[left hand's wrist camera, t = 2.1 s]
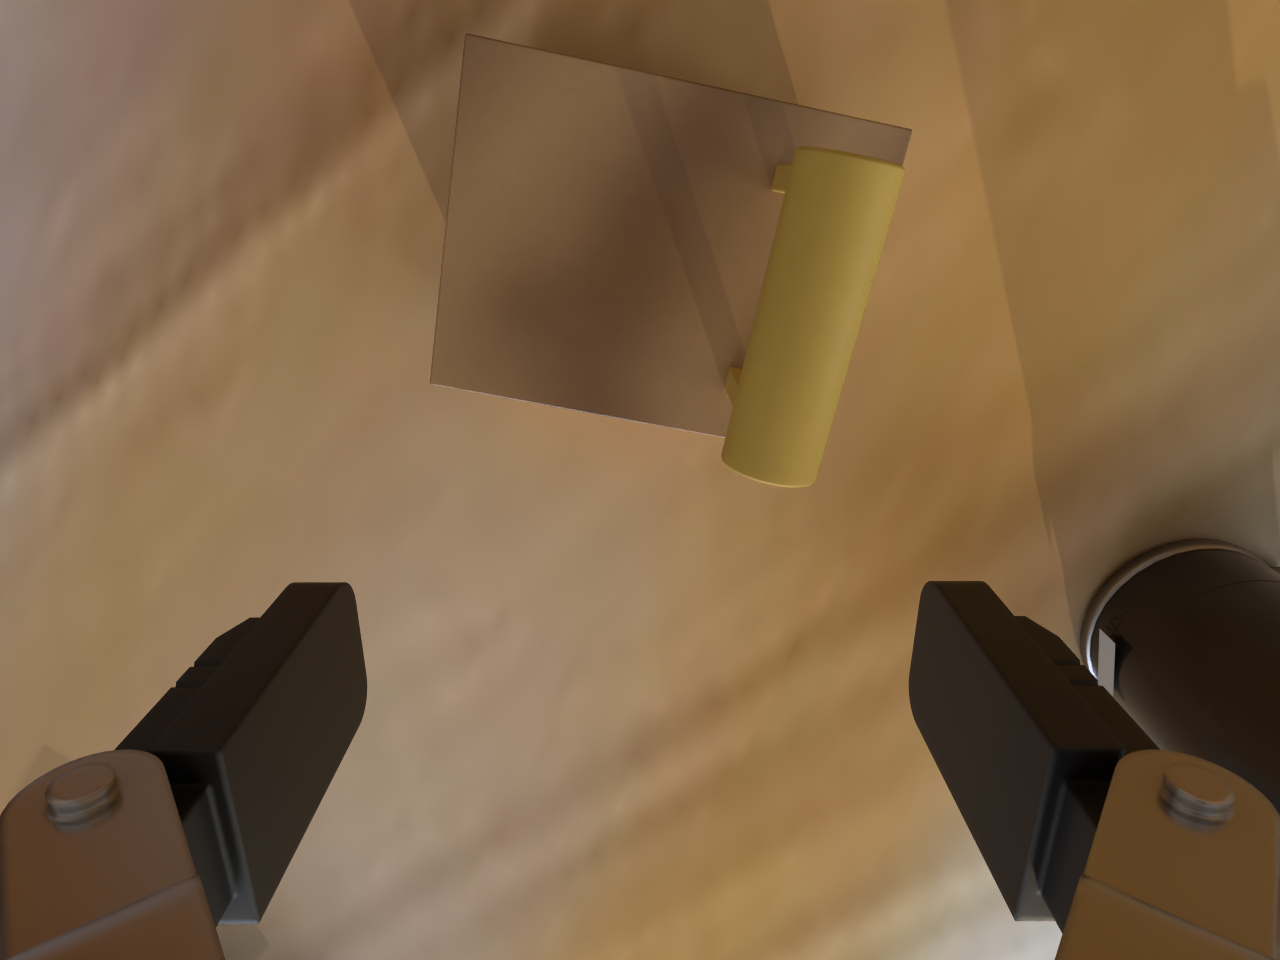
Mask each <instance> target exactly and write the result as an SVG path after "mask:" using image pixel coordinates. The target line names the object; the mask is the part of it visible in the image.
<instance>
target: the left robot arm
mask: <svg viewBox="0 0 1280 960" xmlns="http://www.w3.org/2000/svg"><path fill="white" fill-rule="evenodd" d="M1080 652H1081V658H1082V662H1083V664H1084V665H1080V660H1079V659H1078V658H1077V656H1076V655H1075V654H1074V653H1073V652H1072V651H1071V650H1070V649H1069V648H1068V647H1067V645H1066V644H1065V643H1064V642H1063V641H1062V640H1061V639H1060V638H1059V637H1058V636H1057V635H1055V634H1053V633H1052V632H1050V631H1048V630H1047V629H1045V628H1044V627H1042V626H1040V625H1039V624H1037V623H1035V622H1034V621H1032V620H1030V619H1029V618H1027V617H1025V616H1014V615H1013V614H1012V613H1011V611H1010V610H1009V609H1008V608H1007V607H1006V606H1005V604H1004V603H1003V602H1002V601H1001V600H1000V598H999V597H998V596H997V595H996V594H995V593H994V591H993V590H992V589H991V588H990V587H989V586H988V585H987V584H986V583H985V582H983V581H929V582H927V583H926V584H925V585H924V587H923V589H922V593H921V597H920V603H919V610H918V617H917V624H916V631H915V638H914V645H913V652H912V659H911V667H910V674H909V698H910V704H911V710H912V713H913V717H914V720H915V722H916V724H917V726H918V728H919V730H920V732H921V734H922V736H923V738H924V740H925V742H926V744H927V746H928V748H929V750H930V752H931V754H932V756H933V758H934V760H935V762H936V764H937V766H938V768H939V770H940V772H941V774H942V776H943V778H944V780H945V782H946V784H947V786H948V788H949V790H950V792H951V794H952V796H953V798H954V800H955V802H956V804H957V806H958V808H959V810H960V812H961V814H962V816H963V818H964V820H965V822H966V824H967V826H968V828H969V830H970V832H971V834H972V836H973V838H974V840H975V842H976V844H977V846H978V848H979V850H980V852H981V854H982V856H983V858H984V860H985V862H986V864H987V866H988V868H989V870H990V872H991V874H992V876H993V878H994V880H995V882H996V884H997V886H998V888H999V890H1000V892H1001V894H1002V896H1003V898H1004V900H1005V902H1006V903H1007V905H1008V907H1009V909H1010V911H1011V913H1012V915H1013V917H1014V919H1015V921H1056V923H1057V925H1058V926H1059V928H1060V930H1061V932H1062V934H1063V935H1062V938H1061V941H1060V944H1059V948H1058V951H1057V954H1056V958H1055V960H1280V567H1270V566H1269V565H1268V564H1266V563H1265V562H1264V561H1263V560H1261V559H1260V558H1258V557H1256V556H1255V555H1253V554H1251V553H1250V552H1248V551H1246V550H1245V549H1243V548H1241V547H1238V546H1236V545H1233V544H1230V543H1227V542H1222V541H1217V540H1199V539H1198V540H1187V541H1181V542H1176V543H1172V544H1168V545H1165V546H1162V547H1159V548H1156V549H1154V550H1152V551H1149V552H1147V553H1145V554H1143V555H1141V556H1139V557H1138V558H1136V559H1134V560H1133V561H1131V562H1130V563H1128V564H1127V565H1125V566H1124V567H1123V568H1121V569H1120V570H1119V571H1118V572H1117V573H1115V574H1114V575H1113V576H1112V577H1111V578H1110V579H1109V580H1108V581H1107V582H1106V583H1105V584H1104V586H1103V587H1102V588H1101V589H1100V590H1099V592H1098V593H1097V595H1096V596H1095V597H1094V599H1093V601H1092V603H1091V604H1090V606H1089V608H1088V610H1087V612H1086V615H1085V618H1084V621H1083V624H1082V628H1081V634H1080ZM366 698H367V676H366V669H365V662H364V655H363V648H362V641H361V634H360V627H359V620H358V613H357V606H356V600H355V595H354V592H353V589H352V587H351V586H350V585H349V584H348V583H346V582H295V583H291V584H289V585H288V586H287V587H286V588H285V589H284V591H283V592H282V593H281V594H280V595H279V596H278V598H277V599H276V600H275V601H274V602H273V603H272V605H271V606H270V607H269V608H268V609H267V610H266V612H265V613H264V614H263V615H262V616H261V617H260V618H249V619H247V620H245V621H244V622H242V623H240V624H239V625H237V626H236V627H234V628H232V629H231V630H229V631H227V632H226V633H224V634H222V635H221V636H219V637H217V638H216V639H215V640H214V641H213V642H212V643H211V644H210V646H209V647H208V648H207V649H206V650H205V651H204V652H203V653H202V654H201V655H200V657H199V658H198V659H197V660H196V661H195V662H194V667H189V669H188V670H187V671H186V672H185V673H184V674H183V675H182V676H181V677H180V678H179V680H178V681H177V682H176V687H171V688H170V689H169V691H168V692H167V693H166V694H165V695H164V696H163V697H162V698H161V699H160V700H159V701H158V703H157V704H156V705H155V706H154V707H153V708H152V709H151V710H150V711H149V712H148V714H147V715H146V716H145V717H144V718H143V719H142V720H141V721H140V722H139V723H138V725H137V726H136V727H135V728H134V729H133V730H132V731H131V732H130V733H129V734H128V735H127V737H126V738H125V739H124V740H123V741H122V742H121V743H120V744H119V745H118V746H117V748H116V749H115V750H113V751H105V752H101V753H96V754H92V755H89V756H85V757H82V758H79V759H76V760H74V761H71V762H68V763H66V764H64V765H62V766H59V767H57V768H55V769H53V770H51V771H49V772H48V773H46V774H44V775H42V776H41V777H39V778H37V779H36V780H35V781H33V782H32V783H30V784H29V785H27V786H26V787H25V788H24V789H23V790H21V791H20V792H19V793H18V794H17V795H16V796H15V797H14V798H13V799H12V800H11V801H10V802H9V803H8V805H7V806H6V807H5V809H4V810H3V812H2V814H1V816H0V960H225V958H224V954H223V951H222V948H221V944H220V941H219V938H218V935H217V931H216V927H217V925H218V924H259V922H260V920H261V918H262V916H263V914H264V912H265V910H266V908H267V906H268V904H269V903H270V901H271V899H272V897H273V895H274V893H275V891H276V889H277V887H278V885H279V883H280V881H281V879H282V877H283V875H284V873H285V871H286V869H287V867H288V865H289V863H290V861H291V859H292V857H293V855H294V853H295V851H296V849H297V847H298V845H299V843H300V842H301V840H302V838H303V836H304V834H305V832H306V830H307V828H308V826H309V824H310V822H311V820H312V818H313V816H314V814H315V812H316V810H317V808H318V806H319V804H320V802H321V800H322V798H323V796H324V794H325V792H326V790H327V788H328V786H329V784H330V782H331V781H332V779H333V777H334V775H335V773H336V771H337V769H338V767H339V765H340V763H341V761H342V759H343V757H344V755H345V753H346V751H347V749H348V747H349V745H350V743H351V741H352V739H353V737H354V735H355V733H356V731H357V729H358V727H359V725H360V723H361V721H362V718H363V714H364V710H365V705H366Z"/></svg>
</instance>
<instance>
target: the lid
mask: <svg viewBox="0 0 1280 960" xmlns="http://www.w3.org/2000/svg"><path fill="white" fill-rule="evenodd" d="M911 134H912V130H911V129H907V128H903V127H898V126H893V125H889V124H884V123H880V122H875V121H870V120H866V119H861V118H856V117H852V116H847V115H843V114H838V113H833V112H829V111H824V110H819V109H815V108H810V107H805V106H801V105H796V104H792V103H787V102H782V101H778V100H773V99H768V98H764V97H759V96H755V95H750V94H745V93H741V92H736V91H731V90H727V89H722V88H717V87H713V86H708V85H704V84H699V83H694V82H690V81H685V80H680V79H676V78H671V77H666V76H662V75H657V74H653V73H648V72H643V71H639V70H634V69H629V68H625V67H620V66H616V65H611V64H606V63H602V62H597V61H592V60H588V59H583V58H578V57H574V56H569V55H565V54H560V53H555V52H551V51H546V50H541V49H537V48H532V47H527V46H523V45H518V44H514V43H509V42H504V41H500V40H495V39H490V38H486V37H481V36H477V35H472V34H466V35H465V42H464V52H463V62H462V72H461V82H460V92H459V101H458V111H457V121H456V131H455V141H454V151H453V160H452V170H451V180H450V190H449V200H448V210H447V219H446V229H445V239H444V249H443V259H442V268H441V278H440V288H439V298H438V308H437V318H436V327H435V337H434V347H433V357H432V367H431V377H430V384H432V385H437V386H443V387H448V388H454V389H459V390H465V391H470V392H475V393H481V394H486V395H492V396H497V397H503V398H508V399H514V400H519V401H525V402H530V403H536V404H541V405H547V406H552V407H558V408H563V409H569V410H574V411H580V412H585V413H591V414H596V415H602V416H607V417H612V418H618V419H623V420H629V421H634V422H640V423H645V424H651V425H656V426H662V427H667V428H673V429H678V430H684V431H689V432H695V433H700V434H706V435H711V436H717V437H722V438H725V442H724V446H723V450H722V455H721V456H722V461H723V463H724V464H725V465H726V466H727V467H728V468H730V469H731V470H733V471H734V472H736V473H738V474H740V475H742V476H744V477H747V478H749V479H752V480H755V481H758V482H762V483H765V484H770V485H775V486H781V487H805V486H809V485H811V484H812V483H813V482H814V481H815V480H816V477H817V474H818V470H819V467H820V463H821V460H822V457H823V453H824V450H825V446H826V443H827V439H828V436H829V432H830V429H831V425H832V422H833V419H834V415H835V412H836V408H837V405H838V401H839V398H840V394H841V391H842V387H843V384H844V380H845V377H846V374H847V370H848V367H849V363H850V360H851V356H852V353H853V349H854V346H855V342H856V339H857V336H858V332H859V329H860V325H861V322H862V318H863V315H864V311H865V308H866V304H867V301H868V298H869V294H870V291H871V287H872V284H873V280H874V277H875V273H876V270H877V266H878V263H879V260H880V256H881V253H882V249H883V246H884V242H885V239H886V235H887V232H888V228H889V225H890V222H891V218H892V215H893V211H894V208H895V204H896V201H897V197H898V194H899V190H900V187H901V184H902V180H903V177H904V173H905V170H904V167H902V166H903V162H904V159H905V155H906V152H907V148H908V145H909V141H910V138H911Z"/></svg>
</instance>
